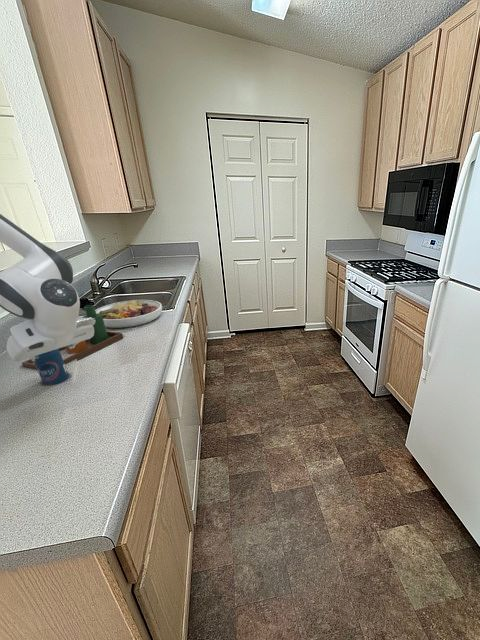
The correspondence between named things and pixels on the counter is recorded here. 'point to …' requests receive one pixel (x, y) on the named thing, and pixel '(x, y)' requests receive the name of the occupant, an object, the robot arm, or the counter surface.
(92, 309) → the green bottle
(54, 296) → the robot arm
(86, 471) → the counter surface
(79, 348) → the amber bottle
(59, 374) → the soda can
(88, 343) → the tray
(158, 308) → the bowl
